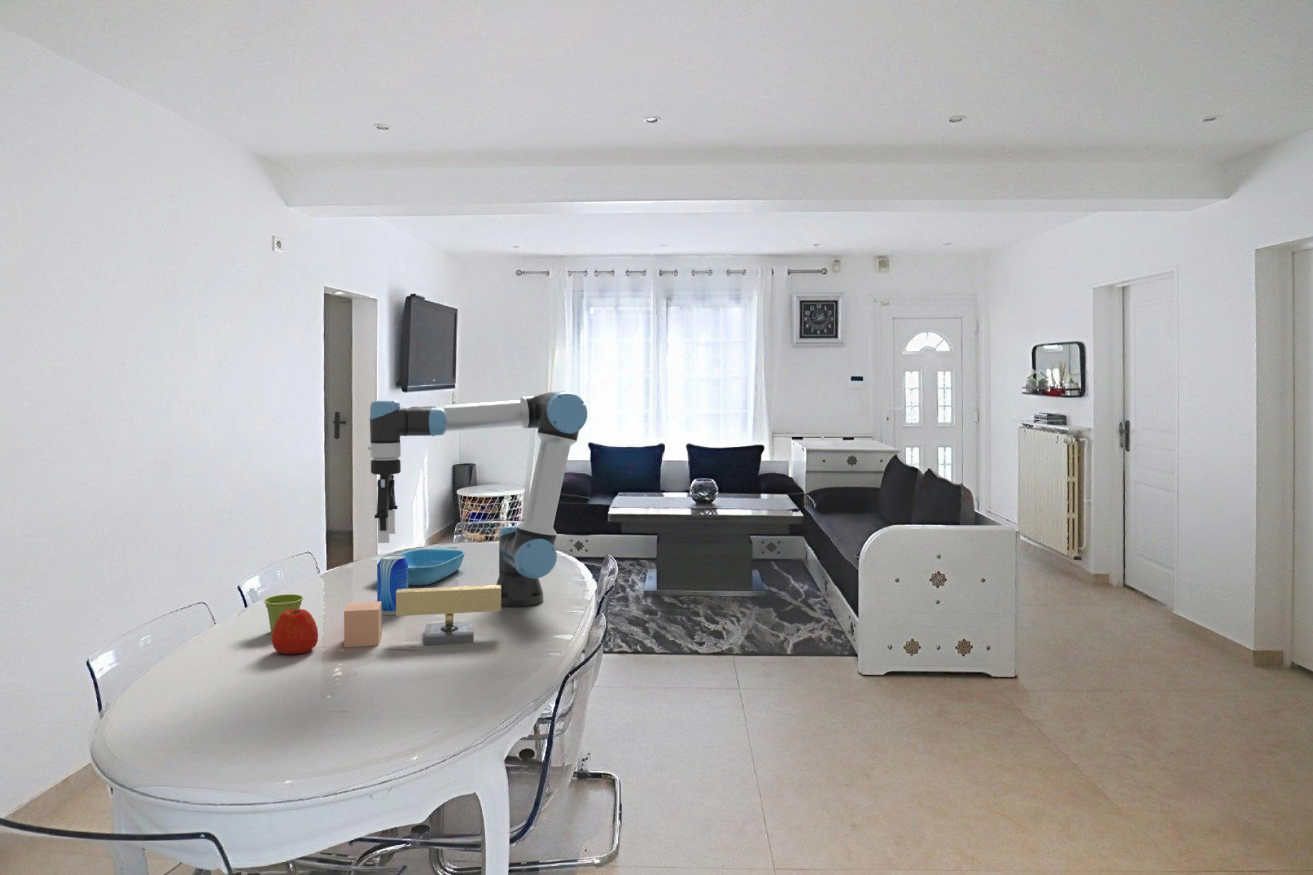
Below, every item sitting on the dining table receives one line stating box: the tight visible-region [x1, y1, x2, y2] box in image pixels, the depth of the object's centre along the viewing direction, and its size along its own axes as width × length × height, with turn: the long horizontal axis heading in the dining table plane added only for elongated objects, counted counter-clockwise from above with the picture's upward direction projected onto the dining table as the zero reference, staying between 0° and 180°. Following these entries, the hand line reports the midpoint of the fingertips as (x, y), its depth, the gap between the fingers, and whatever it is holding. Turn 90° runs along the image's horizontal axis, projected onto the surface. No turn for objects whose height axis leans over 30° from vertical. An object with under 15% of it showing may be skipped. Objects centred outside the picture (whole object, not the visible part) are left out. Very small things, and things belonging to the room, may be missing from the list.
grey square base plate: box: [423, 620, 475, 646], centre depth 205 cm, size 12×12×2 cm
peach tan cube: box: [343, 601, 383, 648], centre depth 200 cm, size 8×8×9 cm
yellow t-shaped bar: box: [395, 584, 502, 628], centre depth 205 cm, size 26×4×10 cm, turn 104°
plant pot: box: [263, 593, 304, 634], centre depth 208 cm, size 9×9×9 cm
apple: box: [271, 608, 319, 655], centre depth 192 cm, size 10×10×10 cm
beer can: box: [376, 554, 409, 616], centre depth 227 cm, size 8×8×16 cm
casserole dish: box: [376, 547, 466, 586], centre depth 273 cm, size 37×22×7 cm, turn 172°
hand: (386, 538), depth 212 cm, fingers open, 13 cm apart
